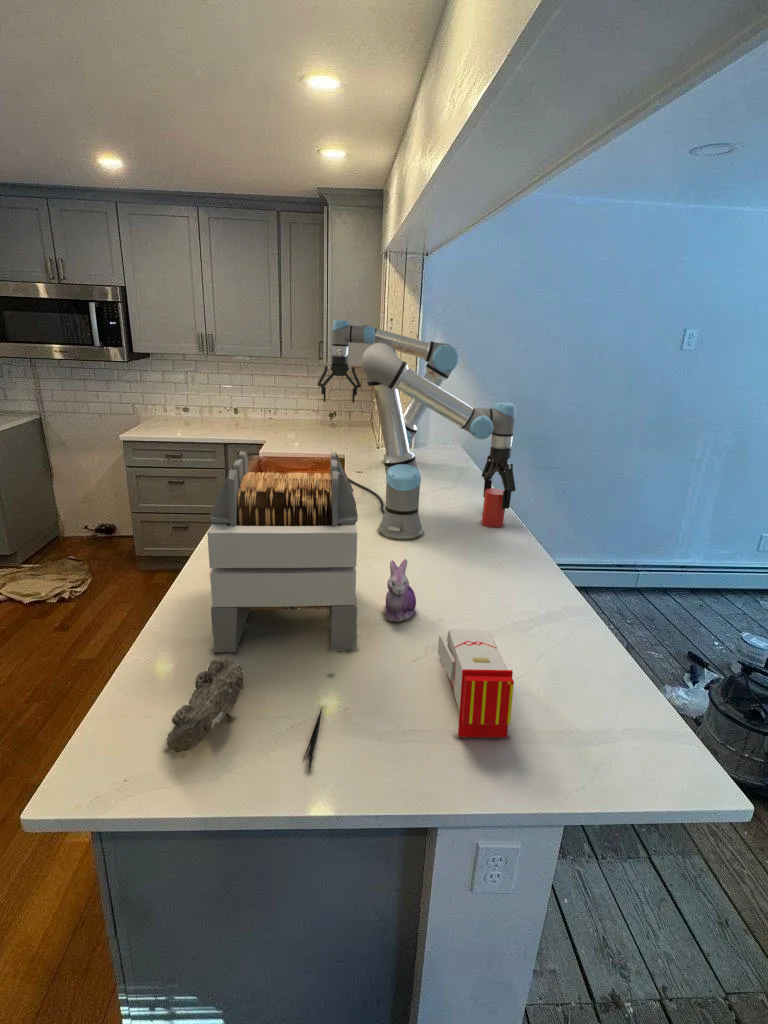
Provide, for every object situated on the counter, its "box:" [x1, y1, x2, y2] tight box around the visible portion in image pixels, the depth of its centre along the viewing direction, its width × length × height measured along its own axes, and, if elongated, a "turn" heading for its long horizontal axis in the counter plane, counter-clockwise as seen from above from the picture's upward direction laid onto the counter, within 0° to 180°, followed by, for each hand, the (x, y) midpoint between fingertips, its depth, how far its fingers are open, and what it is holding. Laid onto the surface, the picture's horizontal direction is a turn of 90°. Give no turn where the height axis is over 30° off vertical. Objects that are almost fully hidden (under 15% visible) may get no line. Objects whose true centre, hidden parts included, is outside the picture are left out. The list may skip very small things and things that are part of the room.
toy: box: [437, 628, 515, 738], centre depth 117 cm, size 12×13×30 cm
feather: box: [301, 673, 332, 771], centre depth 108 cm, size 2×28×2 cm
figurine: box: [384, 558, 417, 623], centre depth 145 cm, size 9×10×15 cm
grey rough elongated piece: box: [166, 658, 245, 754], centre depth 106 cm, size 22×10×15 cm
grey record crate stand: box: [206, 450, 359, 654], centre depth 137 cm, size 34×33×41 cm
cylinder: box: [481, 487, 506, 529], centre depth 211 cm, size 8×8×13 cm
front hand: (495, 502), depth 211 cm, fingers open, 13 cm apart
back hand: (338, 401), depth 268 cm, fingers open, 13 cm apart
